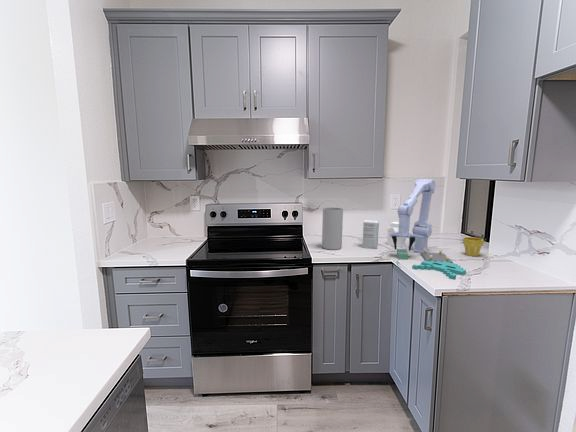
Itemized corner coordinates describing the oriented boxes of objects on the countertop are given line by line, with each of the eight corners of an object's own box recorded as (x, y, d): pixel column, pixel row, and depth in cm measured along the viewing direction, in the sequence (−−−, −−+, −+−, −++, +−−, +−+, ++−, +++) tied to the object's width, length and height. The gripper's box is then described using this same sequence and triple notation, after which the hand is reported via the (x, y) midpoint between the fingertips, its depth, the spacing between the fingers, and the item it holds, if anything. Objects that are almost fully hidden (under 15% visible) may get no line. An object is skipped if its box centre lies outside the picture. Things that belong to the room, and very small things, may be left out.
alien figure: (453, 280, 138) (471, 271, 151) (454, 275, 138) (471, 267, 151) (412, 269, 154) (431, 262, 166) (412, 265, 154) (431, 258, 166)
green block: (396, 254, 181) (397, 248, 181) (405, 255, 180) (406, 249, 179) (398, 259, 171) (398, 253, 170) (407, 260, 169) (408, 254, 169)
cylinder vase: (339, 250, 187) (341, 210, 183) (319, 249, 191) (320, 209, 187) (343, 246, 199) (344, 208, 195) (324, 244, 203) (325, 207, 199)
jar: (408, 246, 200) (409, 223, 198) (397, 247, 196) (398, 224, 194) (395, 242, 210) (396, 221, 208) (384, 243, 206) (385, 222, 204)
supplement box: (363, 244, 204) (364, 219, 202) (377, 245, 201) (379, 220, 199) (362, 247, 195) (363, 221, 193) (377, 249, 192) (378, 222, 190)
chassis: (420, 253, 182) (420, 247, 182) (443, 255, 179) (444, 249, 179) (426, 262, 165) (427, 255, 164) (452, 263, 162) (453, 257, 162)
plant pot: (458, 254, 181) (460, 238, 180) (465, 251, 188) (467, 236, 187) (478, 258, 174) (479, 241, 172) (484, 255, 180) (486, 238, 179)
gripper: (391, 226, 170) (389, 250, 172) (419, 228, 167) (417, 252, 169) (390, 224, 177) (388, 247, 179) (416, 226, 174) (415, 249, 176)
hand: (402, 249), depth 174 cm, fingers open, 7 cm apart
